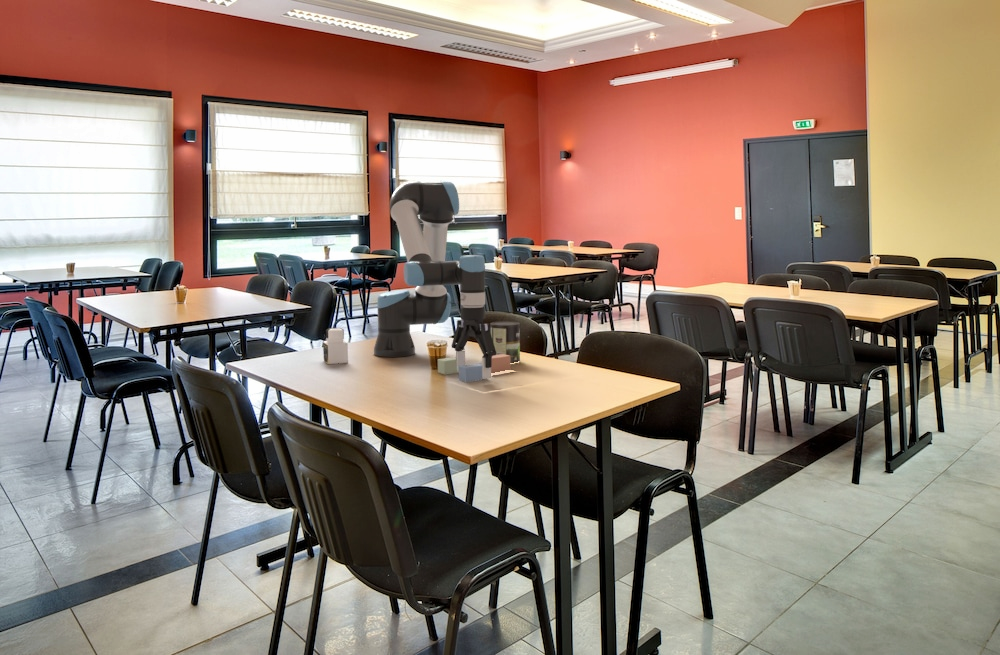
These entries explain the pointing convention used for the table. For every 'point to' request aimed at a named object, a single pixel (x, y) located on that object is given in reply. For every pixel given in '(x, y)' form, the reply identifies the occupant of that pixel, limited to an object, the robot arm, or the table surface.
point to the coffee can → (506, 339)
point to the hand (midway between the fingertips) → (473, 374)
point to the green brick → (447, 365)
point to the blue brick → (470, 372)
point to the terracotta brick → (500, 363)
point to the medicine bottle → (335, 347)
